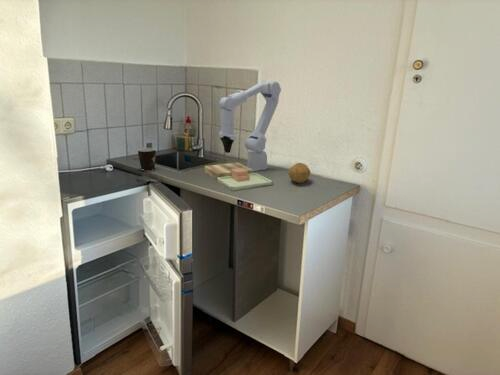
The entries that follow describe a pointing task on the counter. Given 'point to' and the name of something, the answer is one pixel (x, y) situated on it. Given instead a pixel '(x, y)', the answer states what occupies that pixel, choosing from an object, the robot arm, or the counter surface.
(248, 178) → the tile front
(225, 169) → the flat food package
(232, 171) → the tile rear
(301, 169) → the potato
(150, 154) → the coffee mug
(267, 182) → the tray
